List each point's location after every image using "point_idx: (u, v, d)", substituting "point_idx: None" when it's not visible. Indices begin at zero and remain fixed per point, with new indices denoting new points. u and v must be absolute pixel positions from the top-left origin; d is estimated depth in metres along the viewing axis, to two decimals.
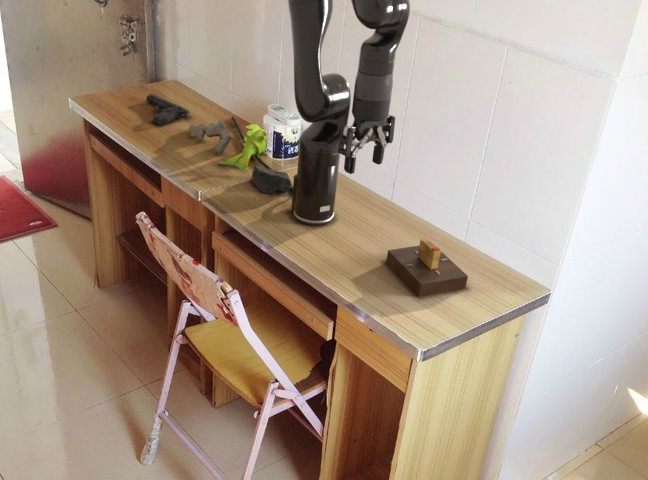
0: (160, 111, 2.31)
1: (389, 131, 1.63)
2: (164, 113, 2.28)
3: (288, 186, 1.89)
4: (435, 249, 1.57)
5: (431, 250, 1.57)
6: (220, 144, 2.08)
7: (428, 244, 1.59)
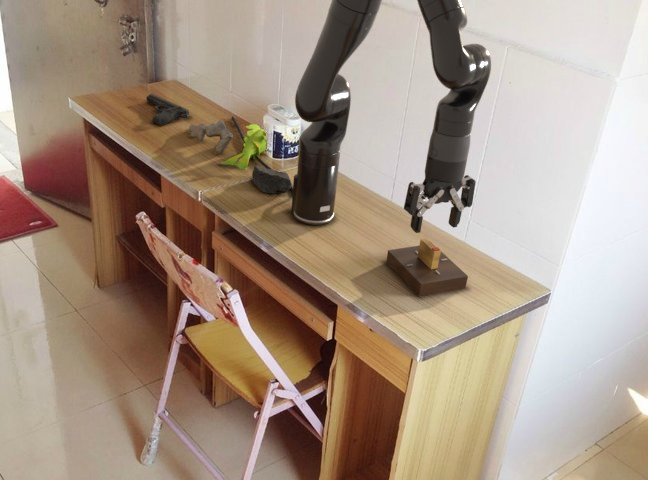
0: (160, 111, 2.31)
1: (467, 194, 1.54)
2: (164, 113, 2.28)
3: (288, 186, 1.89)
4: (435, 249, 1.57)
5: (431, 250, 1.57)
6: (220, 144, 2.08)
7: (428, 244, 1.59)
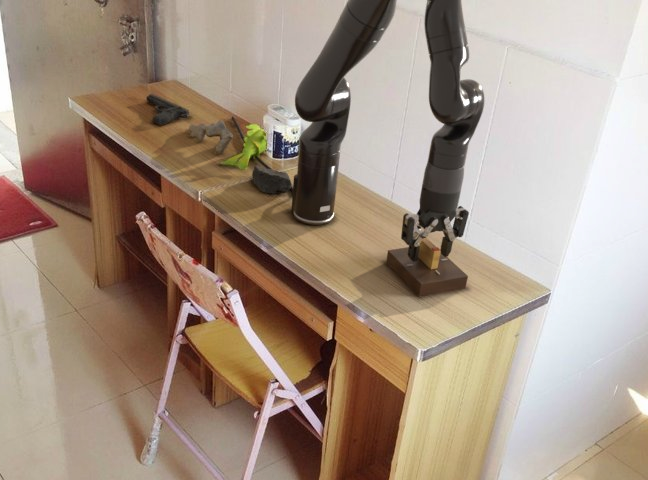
0: (160, 111, 2.31)
1: (460, 224, 1.57)
2: (164, 113, 2.28)
3: (288, 186, 1.89)
4: (435, 249, 1.57)
5: (431, 250, 1.57)
6: (220, 144, 2.08)
7: (428, 244, 1.59)
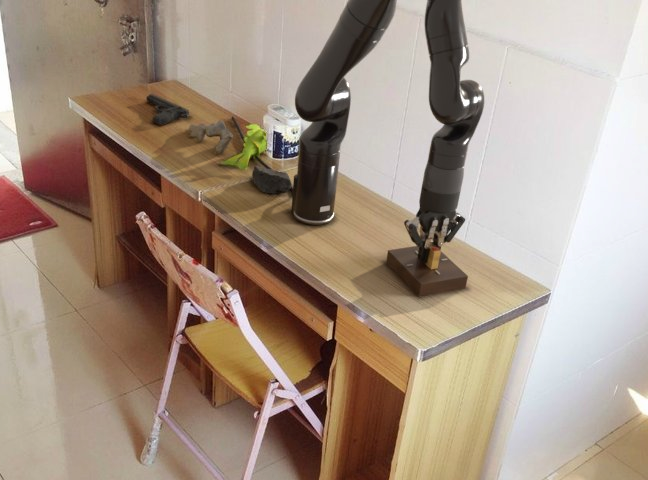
0: (160, 111, 2.31)
1: (452, 229, 1.57)
2: (164, 113, 2.28)
3: (288, 186, 1.89)
4: (435, 249, 1.57)
5: (431, 250, 1.57)
6: (220, 144, 2.08)
7: None
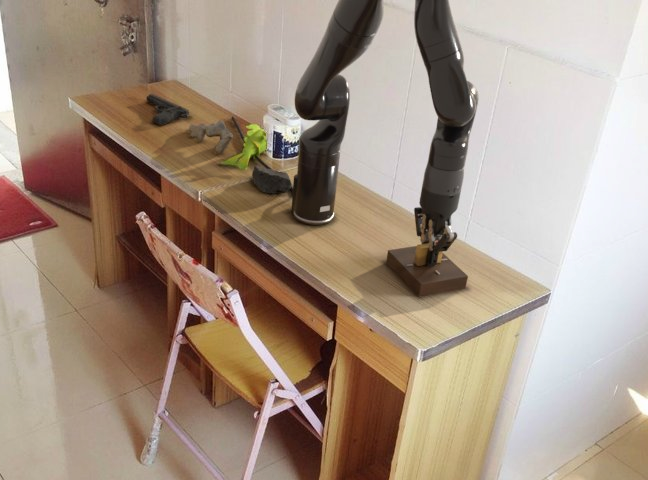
0: (160, 111, 2.31)
1: None
2: (164, 113, 2.28)
3: (288, 186, 1.89)
4: None
5: None
6: (220, 144, 2.08)
7: None
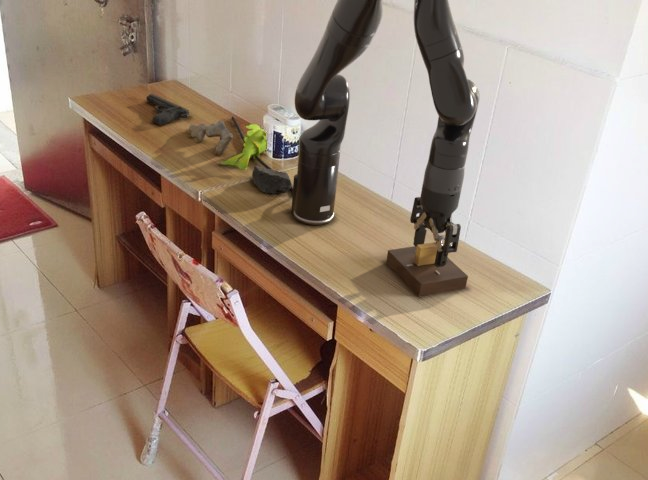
0: (160, 111, 2.31)
1: None
2: (164, 113, 2.28)
3: (288, 186, 1.89)
4: None
5: None
6: (220, 144, 2.08)
7: (430, 245, 1.58)
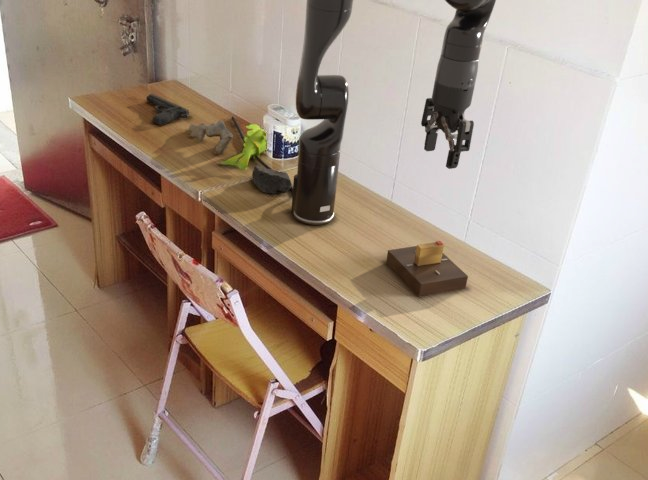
0: (160, 111, 2.31)
1: None
2: (164, 113, 2.28)
3: (288, 186, 1.89)
4: (441, 243, 1.59)
5: (439, 246, 1.59)
6: (220, 144, 2.08)
7: (430, 245, 1.58)
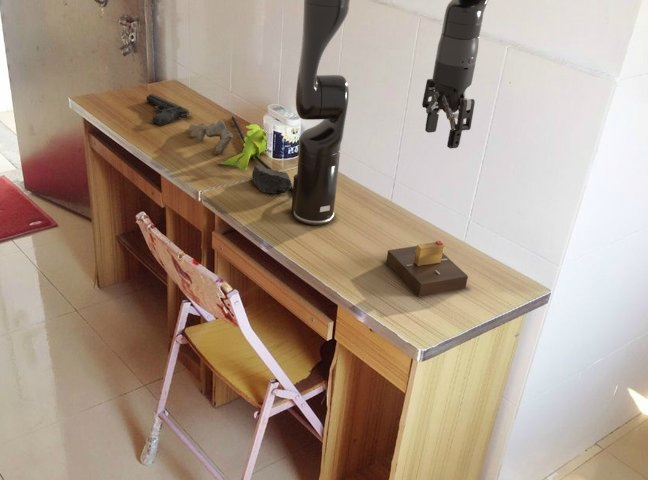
0: (160, 111, 2.31)
1: None
2: (164, 113, 2.28)
3: (288, 186, 1.89)
4: (441, 243, 1.59)
5: (439, 246, 1.59)
6: (220, 144, 2.08)
7: (430, 245, 1.58)
